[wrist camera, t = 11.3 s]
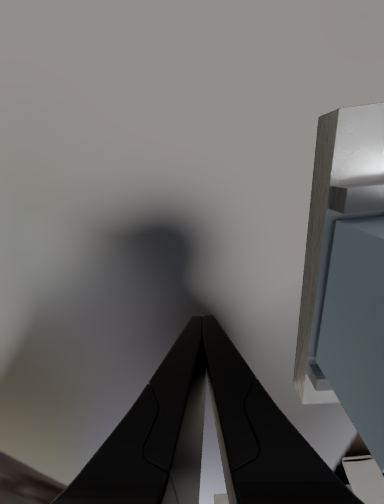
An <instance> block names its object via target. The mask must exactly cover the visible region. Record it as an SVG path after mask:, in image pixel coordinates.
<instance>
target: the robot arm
mask: <svg viewBox="0 0 384 504" xmlns="http://www.w3.org/2000/svg"><path fill="white" fill-rule="evenodd" d="M207 376H208V383H209V389H210V394H211V401H212V407H213V412H214V418H215V424H216V430H217V436H218V442H219V448H220V454H221V460H222V465H223V471H224V477H225V483H226V489H227V495H228V501H229V504H365V503H364V502H362V501H361V500H360V499H359V498H358V497H357V496H356V495H355V494H354V493H353V492H352V491H351V490H350V489H349V488H348V487H347V486H346V485H345V484H344V483H343V482H342V481H341V480H340V479H339V478H338V477H337V476H336V474H335V473H334V472H333V471H332V470H331V469H330V468H329V467H328V465H327V464H326V463H325V462H324V461H323V459H321V458H320V456H319V455H318V454H317V452H316V451H315V450H314V449H313V448H312V447H311V446H310V444H309V443H308V442H307V441H306V440H305V439H304V437H303V436H302V435H301V434H300V433H299V432H298V431H297V429H296V428H295V427H294V426H293V425H292V423H291V422H290V421H289V420H288V419H287V418H286V416H285V415H284V414H283V413H282V411H281V410H280V409H279V408H278V407H277V405H276V404H275V403H274V401H273V400H272V399H271V397H270V396H269V395H268V393H267V392H266V390H265V389H264V388H263V386H262V385H261V383H260V382H259V380H258V379H256V376H255V375H254V373H253V372H252V370H251V369H250V368H249V366H248V365H247V363H246V362H245V360H244V359H243V357H242V356H241V354H240V353H239V352H238V350H237V349H236V348H235V346H234V345H233V343H232V341H231V340H230V339H229V337H228V336H227V334H226V333H225V331H224V330H223V329H222V327H221V326H220V324H219V323H218V321H217V320H216V318H215V317H214V316H213V315H204V316H201V315H196V316H192V317H191V319H190V320H189V322H188V323H187V325H186V327H185V328H184V329H183V331H182V333H181V334H180V335H179V337H178V339H177V340H176V342H175V343H174V345H173V346H172V348H171V349H170V351H169V352H168V354H167V355H166V357H165V358H164V360H163V361H162V363H161V364H160V366H159V367H158V369H157V370H156V372H155V374H154V375H153V376H152V378H151V379H150V381H149V384H147V385H146V387H145V388H144V390H143V391H142V393H141V394H140V396H139V397H138V399H137V400H136V402H135V403H134V404H133V406H132V408H131V409H130V410H129V412H128V413H127V414H126V415H125V417H124V418H123V419H122V420H121V422H120V423H119V424H118V426H117V427H116V428H115V429H114V431H113V432H112V433H111V435H110V436H109V437H108V438H107V439H106V441H105V442H104V443H103V444H102V446H101V447H100V448H99V449H98V451H97V452H96V453H95V454H94V455H93V457H92V458H91V459H90V461H89V462H88V463H87V464H86V465H85V467H84V468H83V469H82V470H81V472H80V473H79V474H78V475H77V476H76V478H75V479H74V480H73V481H72V482H71V483H70V484H69V485H68V487H67V488H66V489H65V490H64V491H63V492H62V493H61V494H60V495H59V496H58V497H56V498H55V499H54V500H53V501H52V502H51V503H50V504H199V489H200V473H201V458H202V442H203V427H204V410H205V394H206V379H207Z"/></svg>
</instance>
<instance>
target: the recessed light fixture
mask: <svg viewBox="0 0 384 504" xmlns="http://www.w3.org/2000/svg"><path fill="white" fill-rule="evenodd" d="M362 458H372V459H368V460H363V461H352V462H344V460H352V459H362ZM342 464H343V467H344V470H345V473H346V475H347V478H348V481H349V483H350V484H349V485H346V486H347V487H348V488H349V489H350V490H351V491H352V492H353V493H354V494H355V495H356V496H357V497H358V498H359V499H360V500H361V501H362V502H364V503H365V504H384V476H383V474H382V472H381V470H380V468H379V467H378V465H377V463H376V462H375V460H374V458H373V457H372V456H371V455H363V456H352V457H343V458H342ZM214 502H215V504H229V501H228V495H227V494H217V495H214Z"/></svg>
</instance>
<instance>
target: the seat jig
mask: <svg viewBox="0 0 384 504" xmlns="http://www.w3.org/2000/svg"><path fill="white" fill-rule="evenodd" d="M375 216H384V102H382V103H375V104H368V105H361V106H353V107H347V108H340V109H337V110H335V111H332V112H330V113H327V114H325V115H323V116H320V117H319V119H318V129H317V140H316V151H315V162H314V171H313V181H312V192H311V203H310V213H309V223H308V233H307V234H308V235H307V244H306V255H305V266H304V275H303V286H302V297H301V306H300V318H299V328H298V339H297V348H296V359H295V369H294V380H293V384H294V387H295V389H296V391H297V394H298V396H299V398H300V401H301V403H302V404H325V403H340V401H339V399H338V398H337V396H336V394H335V393H334V391H333V389H332V388H331V386H330V384H329V383H328V381H327V379H326V377H325V376H324V374H323V372H322V371H321V369H320V367H319V366H318V364H317V362H316V355H317V348H318V341H319V335H320V328H321V321H322V314H323V307H324V300H325V294H326V287H327V280H328V273H329V266H330V259H331V253H332V246H333V239H334V232H335V225H336V220H345V219H355V218H365V217H375Z"/></svg>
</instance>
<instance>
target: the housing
mask: <svg viewBox="0 0 384 504" xmlns="http://www.w3.org/2000/svg"><path fill="white" fill-rule="evenodd" d="M316 362H317V364H318V366H319V367H320V369H321V371H322V372H323V374H324V376H325V377H326V379H327V381H328V383H329V384H330V386H331V388H332V389H333V391H334V393H335V394H336V396H337V398H338V399H339V401H340V403H341V404H342V406H343V407H344V409H345V411H346V413H347V414H348V416H349V418H350V419H351V421H352V423H353V424H354V426H355V428H356V430H357V431H358V433H359V435H360V436H361V438H362V440H363V441H364V443H365V445H366V446H367V448H368V450H369V451H370V453H371V455H372V456H373V458H374V460H375V462H376V463H377V465H378V467H379V468H380V470H381V472H382V473H384V216H375V217H365V218H355V219H345V220H336V225H335V232H334V239H333V246H332V253H331V259H330V266H329V273H328V280H327V287H326V294H325V300H324V307H323V314H322V321H321V328H320V335H319V341H318V348H317V355H316Z"/></svg>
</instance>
